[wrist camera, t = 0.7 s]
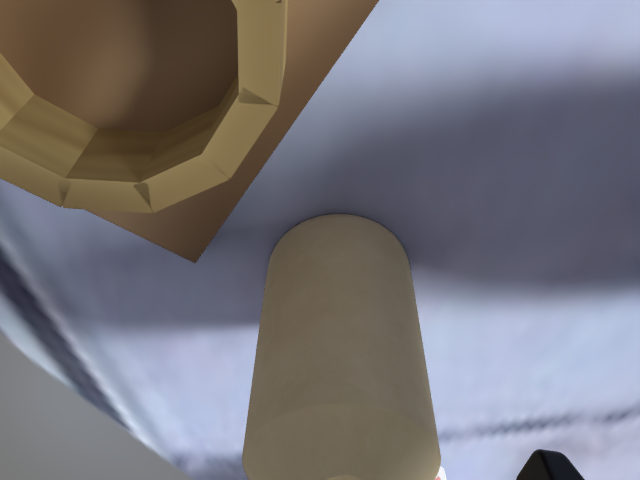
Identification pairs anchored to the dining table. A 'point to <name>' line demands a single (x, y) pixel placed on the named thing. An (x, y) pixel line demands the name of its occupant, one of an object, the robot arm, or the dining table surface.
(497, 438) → the dining table surface
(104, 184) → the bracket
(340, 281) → the candle
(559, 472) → the robot arm
